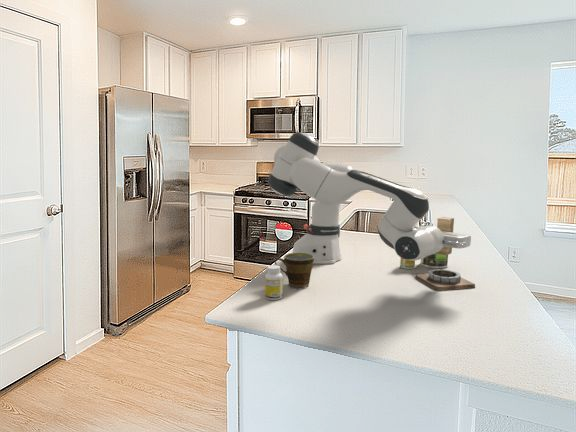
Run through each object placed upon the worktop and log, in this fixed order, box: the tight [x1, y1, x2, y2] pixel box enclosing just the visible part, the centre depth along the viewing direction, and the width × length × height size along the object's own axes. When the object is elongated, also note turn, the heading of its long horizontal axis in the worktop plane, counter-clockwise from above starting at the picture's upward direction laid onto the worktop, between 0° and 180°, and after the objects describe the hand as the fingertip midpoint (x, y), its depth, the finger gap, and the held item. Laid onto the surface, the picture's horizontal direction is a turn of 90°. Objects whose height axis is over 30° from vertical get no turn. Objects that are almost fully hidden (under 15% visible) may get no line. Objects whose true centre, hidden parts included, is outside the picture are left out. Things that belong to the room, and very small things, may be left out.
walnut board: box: [414, 273, 476, 292], centre depth 151 cm, size 14×14×1 cm
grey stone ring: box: [428, 268, 462, 284], centre depth 151 cm, size 10×10×2 cm
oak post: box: [436, 216, 455, 256], centre depth 148 cm, size 4×4×12 cm
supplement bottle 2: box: [399, 257, 416, 270], centre depth 169 cm, size 5×5×10 cm
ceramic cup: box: [274, 252, 314, 289], centre depth 146 cm, size 13×10×10 cm
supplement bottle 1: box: [264, 264, 284, 301], centre depth 135 cm, size 5×5×10 cm
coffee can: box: [419, 253, 449, 269], centre depth 172 cm, size 10×10×14 cm
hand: (445, 234), depth 148 cm, fingers closed on oak post, 4 cm apart
